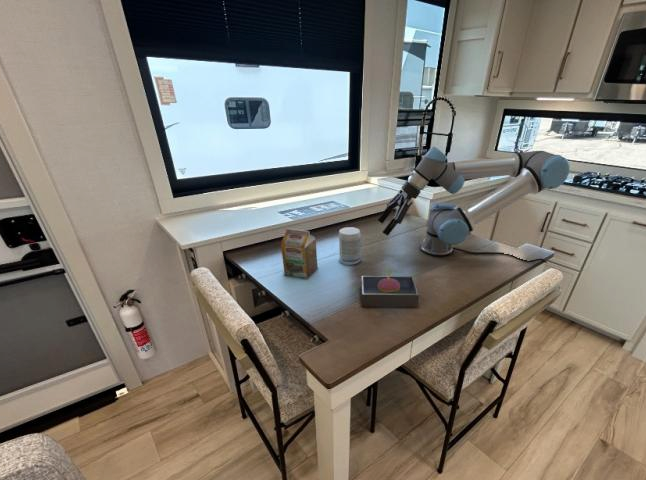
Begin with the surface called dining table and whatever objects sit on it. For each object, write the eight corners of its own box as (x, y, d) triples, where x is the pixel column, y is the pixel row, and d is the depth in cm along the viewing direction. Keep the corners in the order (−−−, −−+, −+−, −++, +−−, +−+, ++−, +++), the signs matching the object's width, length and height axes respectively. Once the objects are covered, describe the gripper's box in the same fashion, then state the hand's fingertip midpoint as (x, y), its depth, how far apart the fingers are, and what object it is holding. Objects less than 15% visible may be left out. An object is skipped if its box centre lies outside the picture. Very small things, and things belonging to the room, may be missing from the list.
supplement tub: (364, 262, 147) (365, 231, 139) (346, 267, 143) (346, 236, 135) (352, 254, 154) (352, 225, 146) (335, 259, 150) (334, 229, 142)
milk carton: (317, 268, 142) (315, 227, 132) (307, 279, 134) (303, 236, 123) (296, 264, 145) (292, 224, 135) (284, 275, 137) (279, 232, 126)
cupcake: (375, 290, 126) (376, 263, 119) (396, 289, 126) (399, 262, 120) (378, 302, 118) (380, 274, 112) (401, 301, 119) (404, 273, 113)
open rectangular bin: (411, 288, 128) (413, 276, 125) (417, 307, 117) (419, 294, 114) (361, 287, 128) (361, 275, 125) (361, 306, 117) (362, 294, 114)
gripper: (400, 172, 138) (371, 212, 147) (414, 189, 117) (380, 234, 127) (413, 182, 141) (384, 221, 150) (429, 200, 120) (394, 244, 129)
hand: (382, 227), depth 138 cm, fingers open, 13 cm apart
